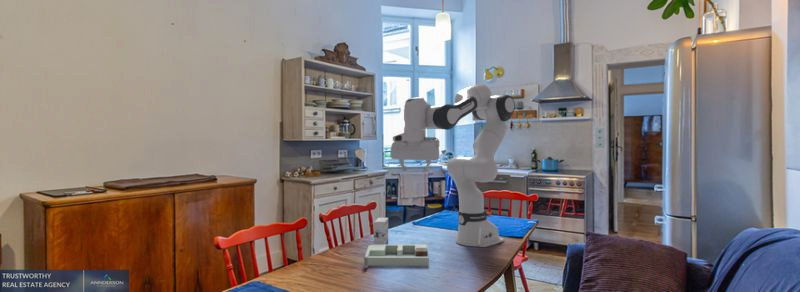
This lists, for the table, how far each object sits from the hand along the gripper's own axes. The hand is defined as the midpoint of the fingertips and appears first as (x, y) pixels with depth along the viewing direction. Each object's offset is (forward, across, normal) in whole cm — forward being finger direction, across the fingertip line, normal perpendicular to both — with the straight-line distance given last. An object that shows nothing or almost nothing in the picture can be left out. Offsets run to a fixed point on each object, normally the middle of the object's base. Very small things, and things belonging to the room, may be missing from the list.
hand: (414, 171), depth 158 cm
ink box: (+35, +19, -8) cm, 40 cm away
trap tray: (+35, +4, +9) cm, 36 cm away
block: (+34, -6, +8) cm, 35 cm away
